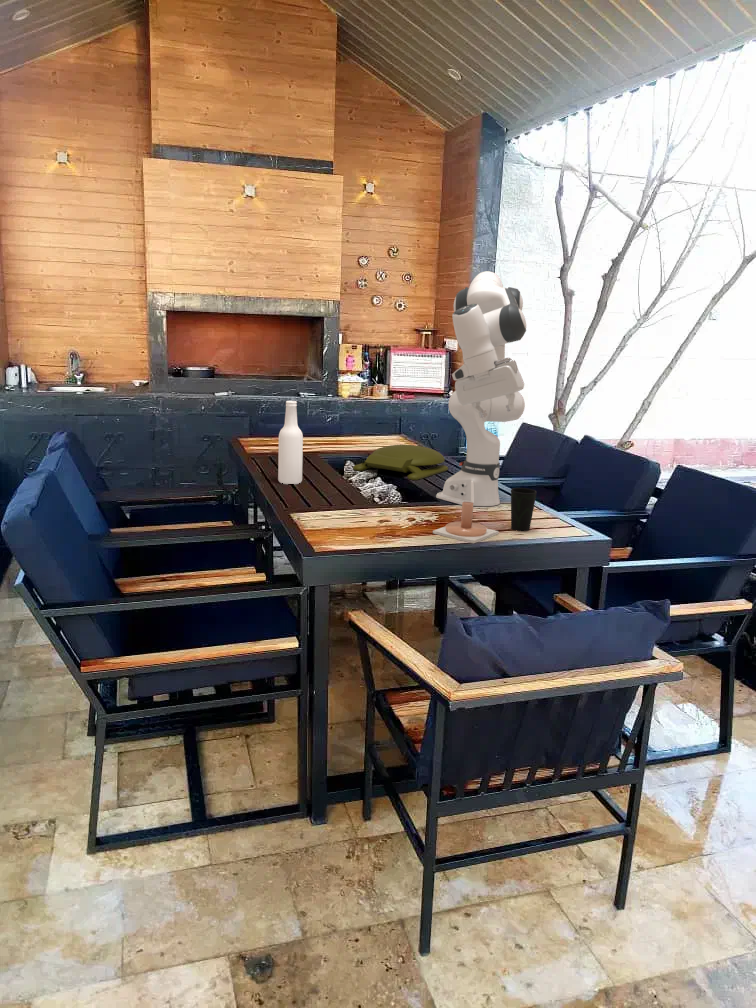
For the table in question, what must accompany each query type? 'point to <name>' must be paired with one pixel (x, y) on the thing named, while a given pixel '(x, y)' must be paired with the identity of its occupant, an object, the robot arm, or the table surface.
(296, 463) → the alcohol
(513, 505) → the cup
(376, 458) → the green turtle
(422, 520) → the table surface
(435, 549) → the table surface
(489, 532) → the mat
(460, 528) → the lid
